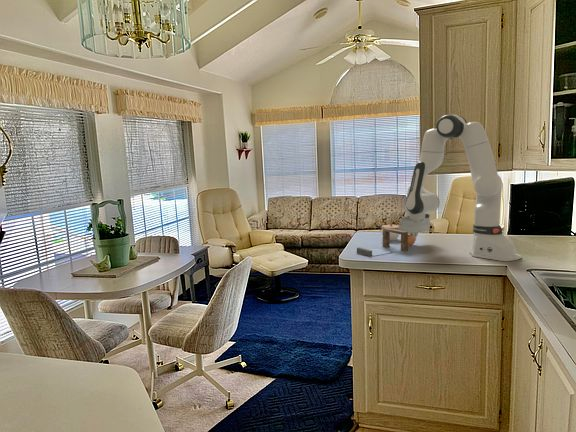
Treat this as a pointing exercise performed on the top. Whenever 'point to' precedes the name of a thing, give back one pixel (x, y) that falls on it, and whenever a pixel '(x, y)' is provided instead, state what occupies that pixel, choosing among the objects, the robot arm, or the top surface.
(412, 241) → the ball
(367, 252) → the stopper
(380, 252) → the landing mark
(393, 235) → the lidded jar
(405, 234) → the bridge
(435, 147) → the robot arm
